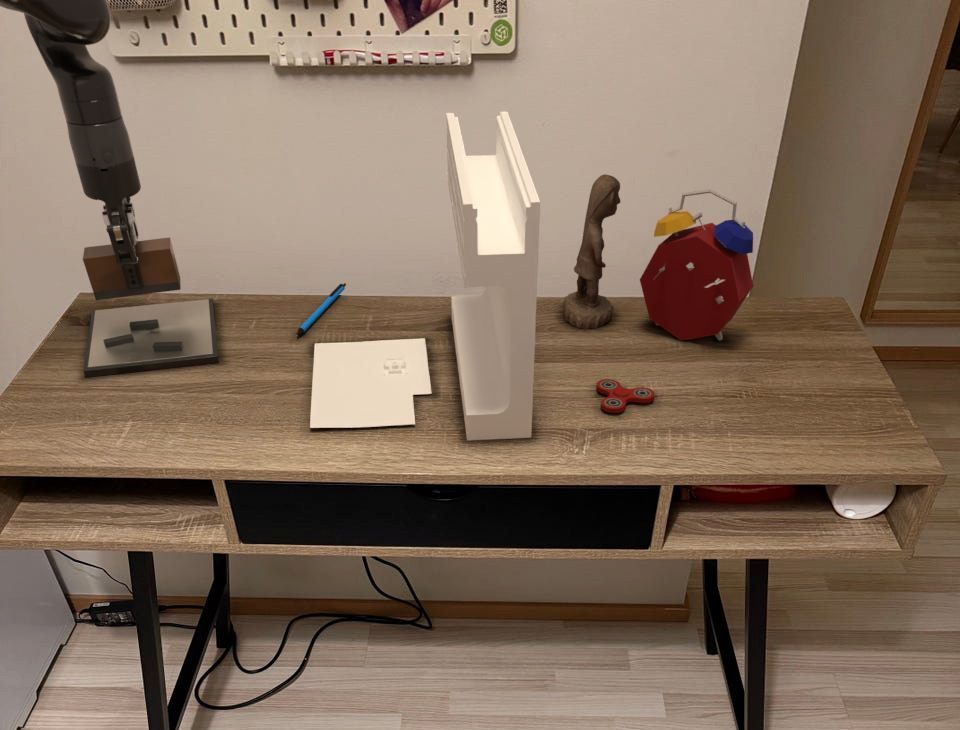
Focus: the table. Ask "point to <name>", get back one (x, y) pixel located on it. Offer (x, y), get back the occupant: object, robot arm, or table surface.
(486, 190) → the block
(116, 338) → the stroke
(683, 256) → the alarm clock
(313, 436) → the table surface
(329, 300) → the pen
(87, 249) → the eraser
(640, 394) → the fidget spinner
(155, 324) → the stroke
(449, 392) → the table surface
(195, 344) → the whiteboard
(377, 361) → the paper
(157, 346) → the stroke
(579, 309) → the figurine
